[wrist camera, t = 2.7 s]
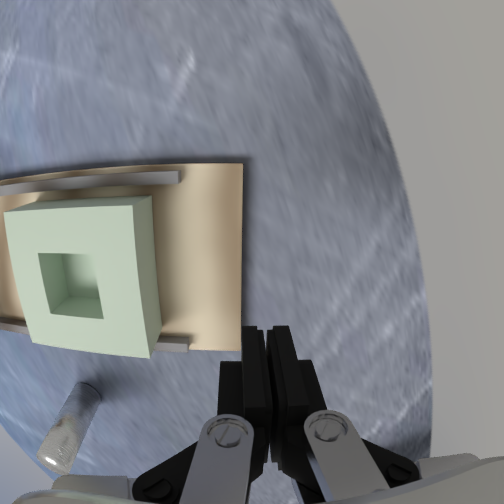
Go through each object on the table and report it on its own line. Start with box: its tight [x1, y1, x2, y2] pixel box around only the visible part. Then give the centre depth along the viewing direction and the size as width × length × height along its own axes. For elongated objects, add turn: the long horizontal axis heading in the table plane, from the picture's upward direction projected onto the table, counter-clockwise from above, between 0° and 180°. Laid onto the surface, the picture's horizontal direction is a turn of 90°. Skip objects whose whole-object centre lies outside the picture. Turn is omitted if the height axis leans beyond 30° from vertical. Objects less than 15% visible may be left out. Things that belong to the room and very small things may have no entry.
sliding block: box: [4, 195, 162, 358], centre depth 19 cm, size 10×10×4 cm
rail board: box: [0, 163, 243, 353], centre depth 20 cm, size 26×14×6 cm, turn 89°
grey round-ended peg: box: [36, 383, 101, 475], centre depth 22 cm, size 3×3×10 cm
